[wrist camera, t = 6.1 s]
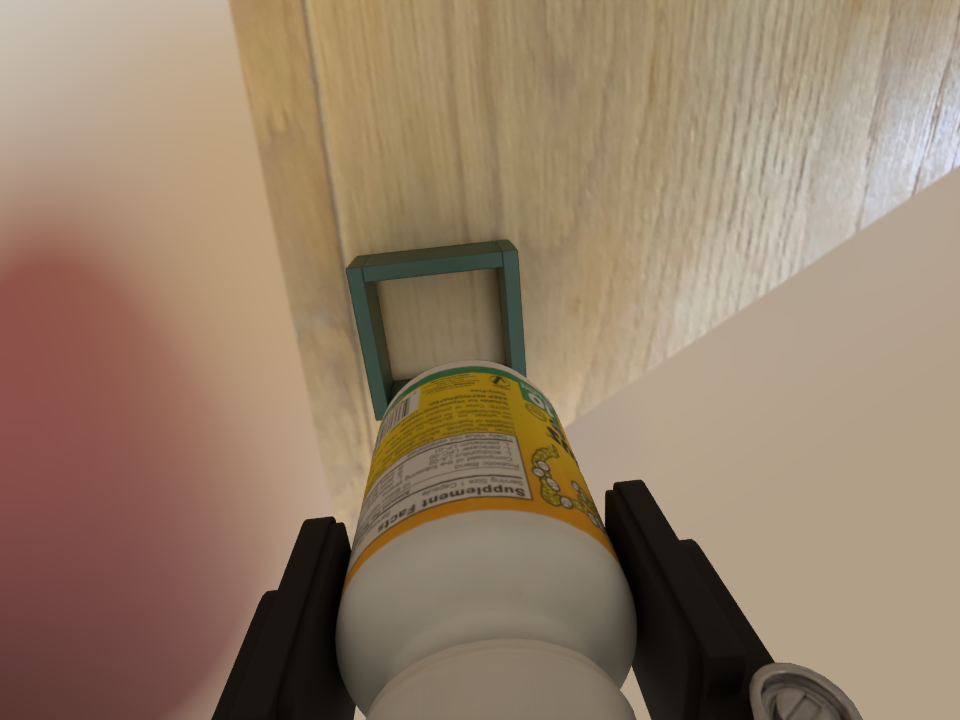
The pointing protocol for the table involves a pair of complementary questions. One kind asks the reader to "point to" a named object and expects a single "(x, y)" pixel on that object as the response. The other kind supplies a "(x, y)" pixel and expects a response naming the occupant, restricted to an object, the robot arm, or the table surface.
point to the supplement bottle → (482, 564)
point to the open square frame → (422, 264)
